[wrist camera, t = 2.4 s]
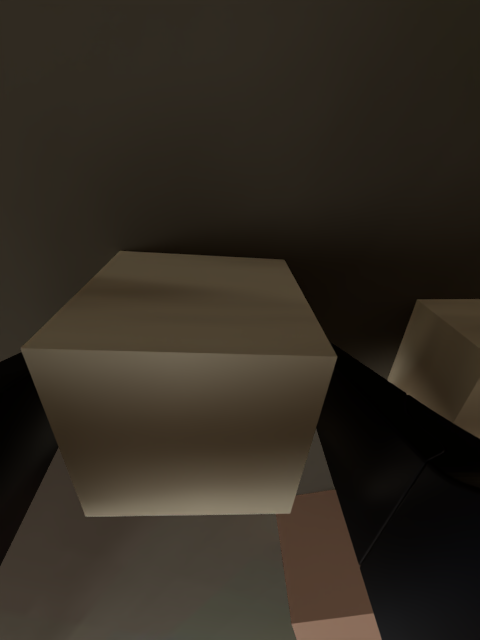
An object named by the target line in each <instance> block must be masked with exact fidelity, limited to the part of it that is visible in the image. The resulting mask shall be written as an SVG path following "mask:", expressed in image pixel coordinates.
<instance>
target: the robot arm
mask: <svg viewBox="0 0 480 640" xmlns="http://www.w3.org/2000/svg"><path fill="white" fill-rule="evenodd" d="M330 344H331V346H332V348H333V350H334V351H335V353H336V355H337V360H336V363H335V367H334V370H333V373H332V376H331V380H330V383H329V386H328V390H327V393H326V396H325V400H324V403H323V406H322V410H321V413H320V416H319V420H318V423H317V426H316V429H317V432H318V435H319V438H320V442H321V445H322V448H323V451H324V455H325V458H326V461H327V464H328V467H329V471H330V474H331V477H332V480H333V484H334V487H335V490H336V493H337V496H338V500H339V503H340V506H341V509H342V513H343V516H344V519H345V522H346V525H347V529H348V532H349V535H350V538H351V542H352V545H353V548H354V551H355V554H356V558H357V561H358V564H359V565H360V571H361V574H362V578H363V581H364V584H365V587H366V590H367V594H368V597H369V600H370V603H371V607H372V610H373V613H374V616H375V619H376V623H377V626H378V629H379V632H380V636H381V639H382V640H480V439H479V438H478V437H476V436H474V435H473V434H471V433H469V432H467V431H466V430H464V429H462V428H461V427H459V426H457V425H456V424H454V423H452V422H451V421H449V420H447V419H446V418H444V417H442V416H441V415H439V414H438V413H436V412H434V411H433V410H431V409H430V408H428V407H427V406H425V405H424V404H422V403H421V402H419V401H418V400H416V399H415V398H413V397H412V396H410V395H407V394H406V392H404V391H403V390H401V389H400V388H398V387H397V386H395V385H394V384H392V383H391V382H389V381H388V380H386V379H385V378H383V377H382V376H380V375H379V374H377V373H376V372H374V371H373V370H371V369H370V368H368V367H367V366H365V365H364V364H362V363H361V362H359V361H358V360H356V359H355V358H353V357H352V356H350V355H349V354H347V353H346V352H344V351H343V350H341V349H340V348H338V347H337V346H335V345H334V344H332V343H331V342H330ZM58 447H59V446H58V444H57V441H56V439H55V436H54V434H53V431H52V428H51V426H50V423H49V421H48V418H47V416H46V413H45V410H44V408H43V405H42V403H41V400H40V398H39V395H38V392H37V390H36V387H35V385H34V382H33V380H32V377H31V374H30V372H29V369H28V367H27V364H26V361H25V359H24V356H23V354H22V352H21V353H19V354H17V355H14V356H12V357H10V358H8V359H6V360H4V361H1V362H0V566H1V564H2V561H3V559H4V557H5V555H6V553H7V551H8V549H9V547H10V545H11V543H12V541H13V539H14V537H15V535H16V533H17V531H18V529H19V527H20V525H21V523H22V521H23V519H24V517H25V514H26V512H27V510H28V508H29V506H30V504H31V502H32V500H33V498H34V496H35V494H36V492H37V490H38V488H39V486H40V484H41V482H42V480H43V478H44V476H45V474H46V472H47V469H48V467H49V465H50V463H51V461H52V459H53V457H54V455H55V453H56V451H57V449H58Z"/></svg>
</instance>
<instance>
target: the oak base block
mask: <svg viewBox="0 0 480 640" xmlns="http://www.w3.org/2000/svg"><path fill="white" fill-rule="evenodd" d="M388 381H389V382H391V383H392V384H394V385H395V386H397V387H398V388H400V389H401V390H403V391H404V392H406V394H407V395H410V396H412V397H413V398H415V399H416V400H418V401H419V402H421V403H422V404H424V405H425V406H427V407H428V408H430V409H431V410H433V411H434V412H436V413H438V414H439V415H441V416H442V417H444V418H446V419H447V420H449V421H451V422H452V423H454V424H456V425H457V426H459V427H461V428H462V429H464V430H466V431H467V432H469V433H471V434H473V435H474V436H476V437H478V438H479V439H480V299H417V301H416V304H415V307H414V309H413V312H412V315H411V317H410V320H409V323H408V326H407V328H406V331H405V334H404V336H403V339H402V342H401V344H400V347H399V350H398V353H397V355H396V358H395V361H394V363H393V366H392V369H391V372H390V374H389V377H388Z"/></svg>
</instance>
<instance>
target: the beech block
mask: <svg viewBox="0 0 480 640" xmlns="http://www.w3.org/2000/svg"><path fill="white" fill-rule="evenodd" d="M20 349H21V351H22V354H23V356H24V359H25V361H26V364H27V367H28V369H29V372H30V374H31V377H32V380H33V382H34V385H35V387H36V390H37V392H38V395H39V398H40V400H41V403H42V405H43V408H44V410H45V413H46V416H47V418H48V421H49V423H50V426H51V428H52V431H53V434H54V436H55V439H56V441H57V444H58V446H59V449H60V452H61V454H62V457H63V459H64V462H65V464H66V467H67V470H68V472H69V475H70V477H71V480H72V482H73V485H74V488H75V490H76V493H77V495H78V498H79V500H80V503H81V506H82V508H83V511H84V513H85V516H86V517H103V516H167V515H230V514H290V512H291V509H292V506H293V503H294V499H295V496H296V493H297V489H298V486H299V483H300V479H301V476H302V473H303V469H304V466H305V463H306V459H307V456H308V453H309V449H310V446H311V443H312V440H313V436H314V433H315V430H316V426H317V423H318V420H319V416H320V413H321V410H322V406H323V403H324V400H325V396H326V393H327V390H328V386H329V383H330V380H331V376H332V373H333V370H334V367H335V363H336V360H337V355H336V353H335V351H334V350H333V348H332V346H331V344H330V342H329V340H328V339H327V337H326V335H325V333H324V331H323V329H322V328H321V326H320V324H319V322H318V320H317V318H316V317H315V315H314V313H313V311H312V309H311V307H310V306H309V304H308V302H307V300H306V298H305V296H304V295H303V293H302V291H301V289H300V287H299V286H298V284H297V282H296V280H295V278H294V276H293V275H292V273H291V271H290V269H289V267H288V265H287V264H286V262H285V260H282V259H263V258H244V257H226V256H207V255H188V254H169V253H150V252H131V251H119V252H118V253H117V254H116V255H115V256H114V257H113V258H112V259H111V260H110V261H109V262H108V263H107V264H106V265H105V266H104V267H103V268H102V269H101V270H100V271H99V272H98V273H97V274H96V275H95V276H94V277H93V278H92V279H91V280H90V281H89V282H88V283H87V284H86V285H85V286H84V287H83V288H82V289H81V290H80V291H79V292H77V293H76V294H75V295H74V296H73V297H72V298H71V299H70V300H69V301H68V302H67V303H66V304H65V305H64V306H63V307H62V308H61V309H60V310H59V311H58V312H57V313H56V314H55V315H54V316H53V317H52V318H51V319H50V320H49V321H48V322H47V323H46V324H45V325H44V326H43V327H42V328H41V329H40V330H39V331H38V332H37V333H36V334H34V335H33V336H32V337H31V338H30V339H29V340H28V341H27V342H26V343H25V344H24V345H23V346H22V347H21V348H20Z"/></svg>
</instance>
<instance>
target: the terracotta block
mask: <svg viewBox="0 0 480 640" xmlns="http://www.w3.org/2000/svg"><path fill="white" fill-rule="evenodd" d="M276 517H277V524H278V531H279V538H280V545H281V552H282V560H283V567H284V574H285V581H286V588H287V595H288V602H289V609H290V616H291V623H292V627H293V629H294V632H295V635H296V638H297V640H382V639H381V636H380V632H379V629H378V626H377V623H376V619H375V616H374V613H373V610H372V607H371V603H370V600H369V597H368V594H367V590H366V587H365V584H364V581H363V578H362V574H361V571H360V565H359V564H358V561H357V558H356V554H355V551H354V548H353V545H352V542H351V538H350V535H349V532H348V529H347V525H346V522H345V519H344V516H343V513H342V509H341V506H340V503H339V500H338V496H337V493H336V490H328V491H322V492H315V493H309V494H302V495H296V496H295V499H294V503H293V506H292V509H291V512H290V514H276Z"/></svg>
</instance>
